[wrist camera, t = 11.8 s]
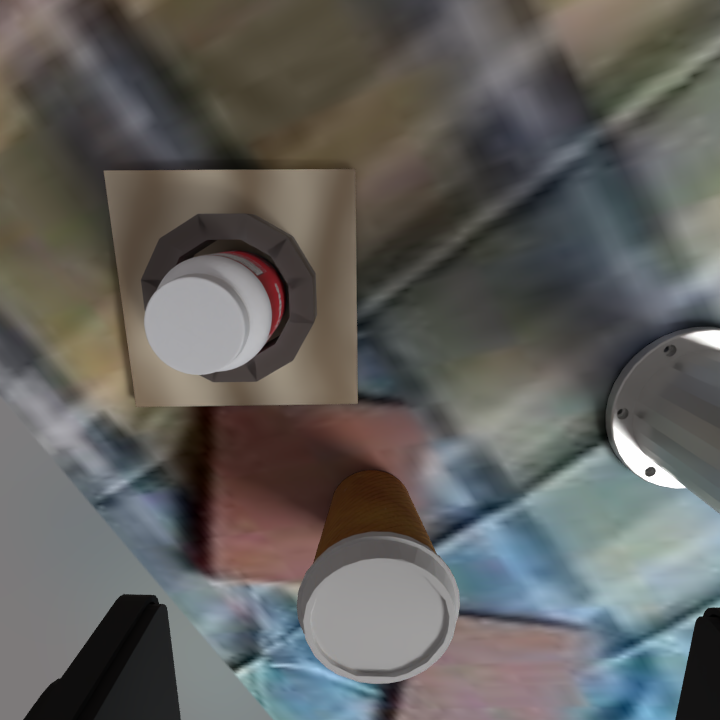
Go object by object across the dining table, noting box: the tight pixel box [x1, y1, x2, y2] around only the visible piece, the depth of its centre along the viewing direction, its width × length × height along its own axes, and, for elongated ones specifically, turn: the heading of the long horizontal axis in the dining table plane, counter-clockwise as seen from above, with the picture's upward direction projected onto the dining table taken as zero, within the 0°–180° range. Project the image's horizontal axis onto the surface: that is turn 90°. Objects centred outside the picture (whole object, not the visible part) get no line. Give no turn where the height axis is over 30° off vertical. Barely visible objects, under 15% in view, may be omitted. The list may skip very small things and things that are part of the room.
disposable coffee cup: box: [297, 470, 460, 684], centre depth 33 cm, size 10×10×12 cm
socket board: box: [104, 169, 358, 407], centre depth 32 cm, size 16×16×4 cm
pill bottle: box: [144, 250, 287, 375], centre depth 28 cm, size 6×6×11 cm
